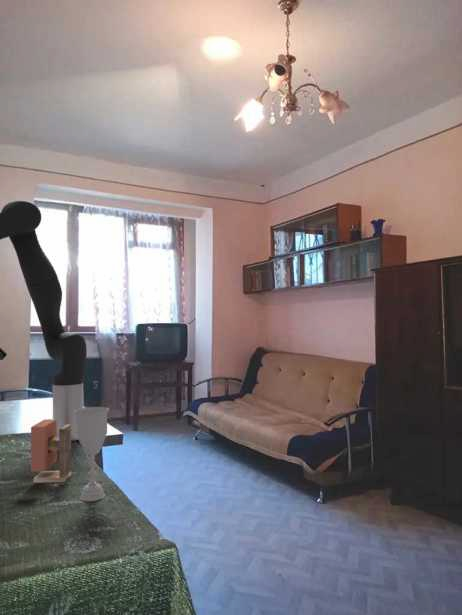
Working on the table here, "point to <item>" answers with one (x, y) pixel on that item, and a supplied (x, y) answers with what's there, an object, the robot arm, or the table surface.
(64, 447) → the pipe stand
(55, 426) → the pink block with hole
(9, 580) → the table surface
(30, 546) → the table surface
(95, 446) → the chalice
